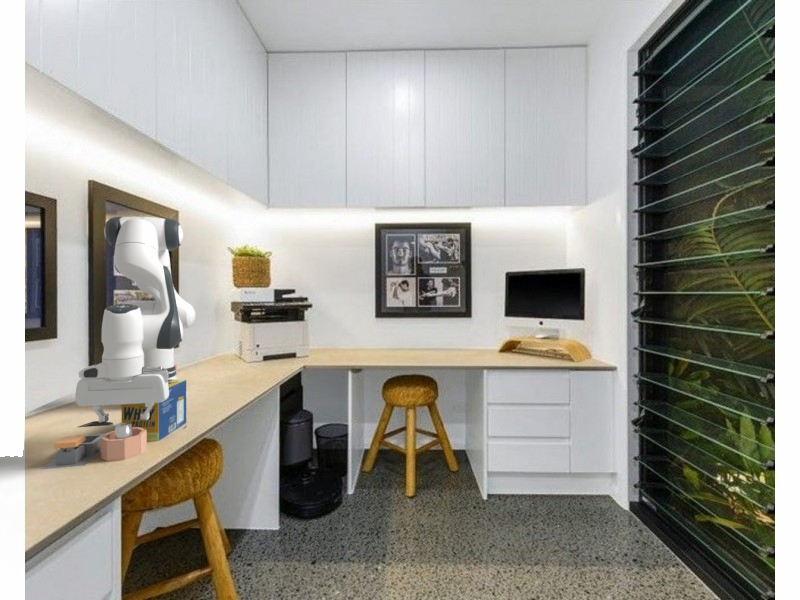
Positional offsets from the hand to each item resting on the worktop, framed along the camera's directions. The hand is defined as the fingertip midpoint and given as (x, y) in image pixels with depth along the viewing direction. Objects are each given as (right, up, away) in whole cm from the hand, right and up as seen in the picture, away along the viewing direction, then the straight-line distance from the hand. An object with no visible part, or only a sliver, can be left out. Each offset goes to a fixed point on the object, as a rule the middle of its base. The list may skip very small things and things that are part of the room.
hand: (124, 420), depth 102 cm
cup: (0, -10, 0) cm, 10 cm away
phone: (-25, -10, +17) cm, 32 cm away
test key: (-9, -8, -5) cm, 13 cm away
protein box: (-1, -10, +15) cm, 18 cm away
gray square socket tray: (-10, -10, -2) cm, 14 cm away
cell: (0, -9, 0) cm, 9 cm away
